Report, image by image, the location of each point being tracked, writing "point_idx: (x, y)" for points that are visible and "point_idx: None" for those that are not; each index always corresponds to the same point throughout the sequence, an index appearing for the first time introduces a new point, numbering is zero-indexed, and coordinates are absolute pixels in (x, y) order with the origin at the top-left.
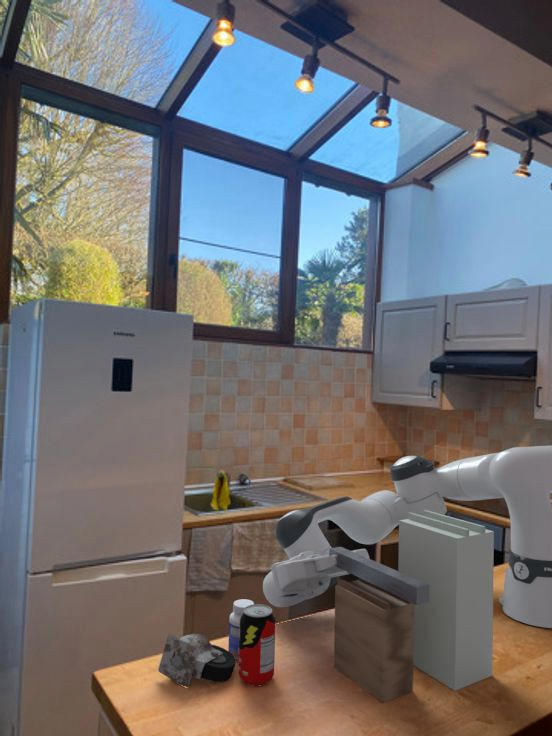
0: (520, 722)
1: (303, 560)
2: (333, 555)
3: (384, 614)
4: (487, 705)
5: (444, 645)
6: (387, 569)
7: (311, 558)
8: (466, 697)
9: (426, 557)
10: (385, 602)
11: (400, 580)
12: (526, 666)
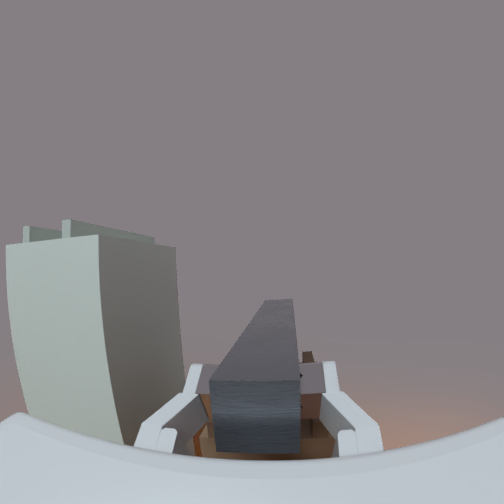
0: (204, 425)
1: (461, 432)
2: (327, 362)
3: None
4: (198, 443)
5: None
6: (270, 312)
7: (408, 446)
8: (200, 456)
9: (149, 306)
10: (308, 353)
11: (292, 303)
12: None
